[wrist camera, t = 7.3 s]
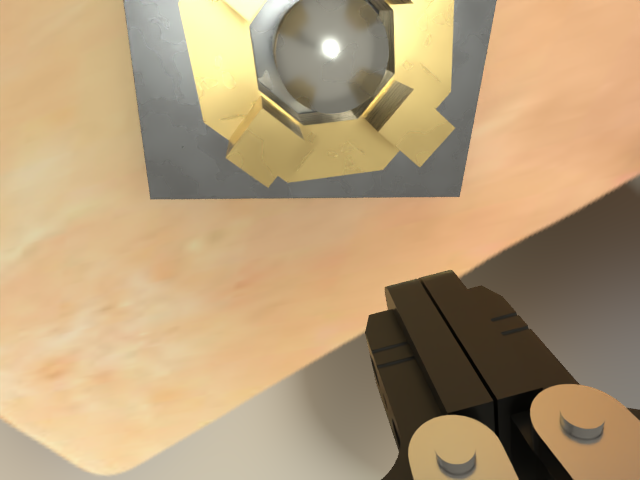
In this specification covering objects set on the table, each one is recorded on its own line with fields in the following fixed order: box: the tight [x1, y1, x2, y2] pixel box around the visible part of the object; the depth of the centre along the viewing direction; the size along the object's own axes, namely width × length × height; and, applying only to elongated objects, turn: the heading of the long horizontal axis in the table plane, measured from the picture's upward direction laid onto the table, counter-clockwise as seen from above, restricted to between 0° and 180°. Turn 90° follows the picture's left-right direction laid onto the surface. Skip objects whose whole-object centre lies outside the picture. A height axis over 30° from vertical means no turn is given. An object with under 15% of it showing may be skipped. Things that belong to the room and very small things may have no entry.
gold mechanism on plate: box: [123, 0, 497, 199], centre depth 23 cm, size 20×18×8 cm
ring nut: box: [178, 0, 455, 188], centre depth 22 cm, size 13×13×7 cm
